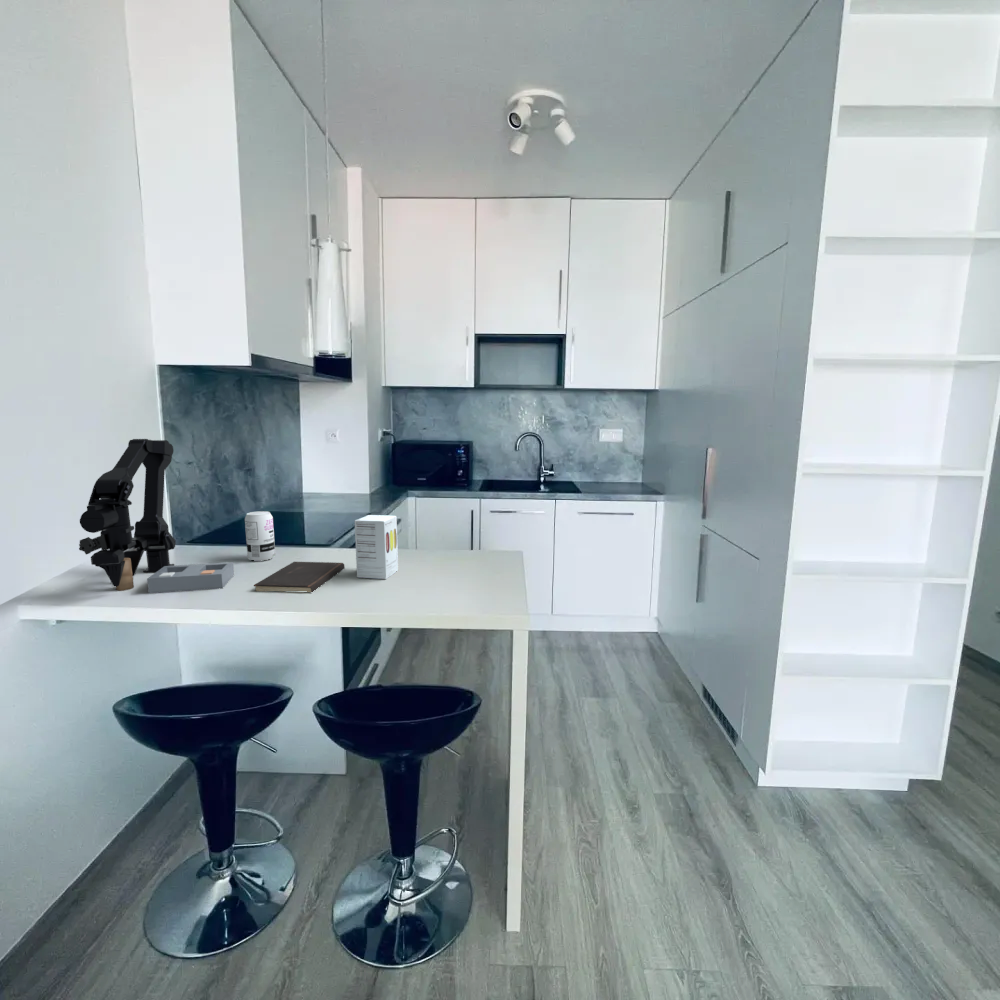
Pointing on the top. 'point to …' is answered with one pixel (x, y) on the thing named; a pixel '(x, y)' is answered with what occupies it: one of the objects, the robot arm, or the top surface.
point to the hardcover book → (300, 576)
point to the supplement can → (260, 535)
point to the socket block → (190, 577)
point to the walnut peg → (126, 576)
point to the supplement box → (376, 546)
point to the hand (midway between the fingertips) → (124, 581)
